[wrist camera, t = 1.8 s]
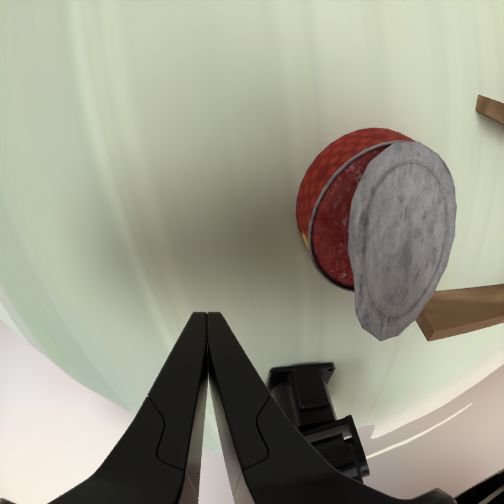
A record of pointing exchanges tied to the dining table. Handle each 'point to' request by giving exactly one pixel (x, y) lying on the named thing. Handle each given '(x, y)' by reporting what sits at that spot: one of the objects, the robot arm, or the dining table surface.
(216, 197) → the dining table surface
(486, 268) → the dining table surface
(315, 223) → the canned food
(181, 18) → the dining table surface
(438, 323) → the shelf bay
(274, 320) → the dining table surface
